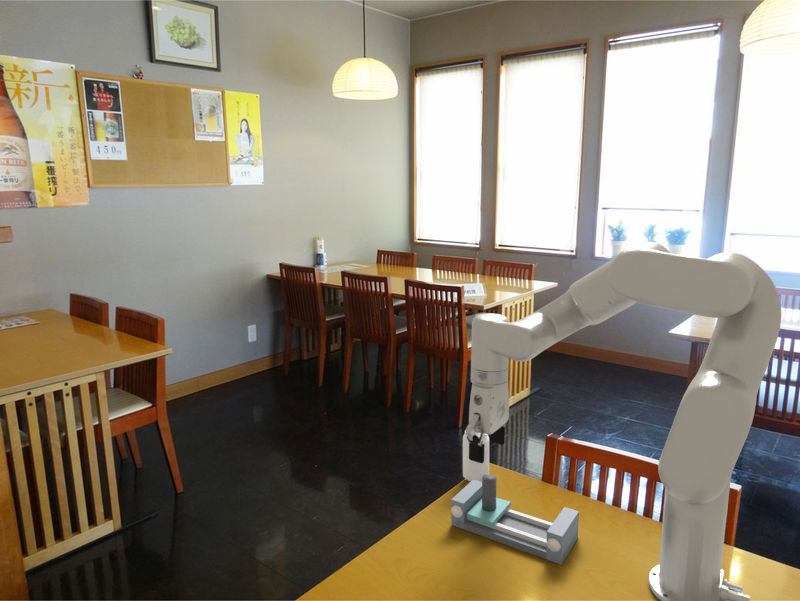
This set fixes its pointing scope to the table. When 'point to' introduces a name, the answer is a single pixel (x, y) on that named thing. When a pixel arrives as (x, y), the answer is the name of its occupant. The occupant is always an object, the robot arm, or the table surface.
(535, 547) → the rail track
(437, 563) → the table surface
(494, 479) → the carriage
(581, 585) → the table surface
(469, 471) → the can
